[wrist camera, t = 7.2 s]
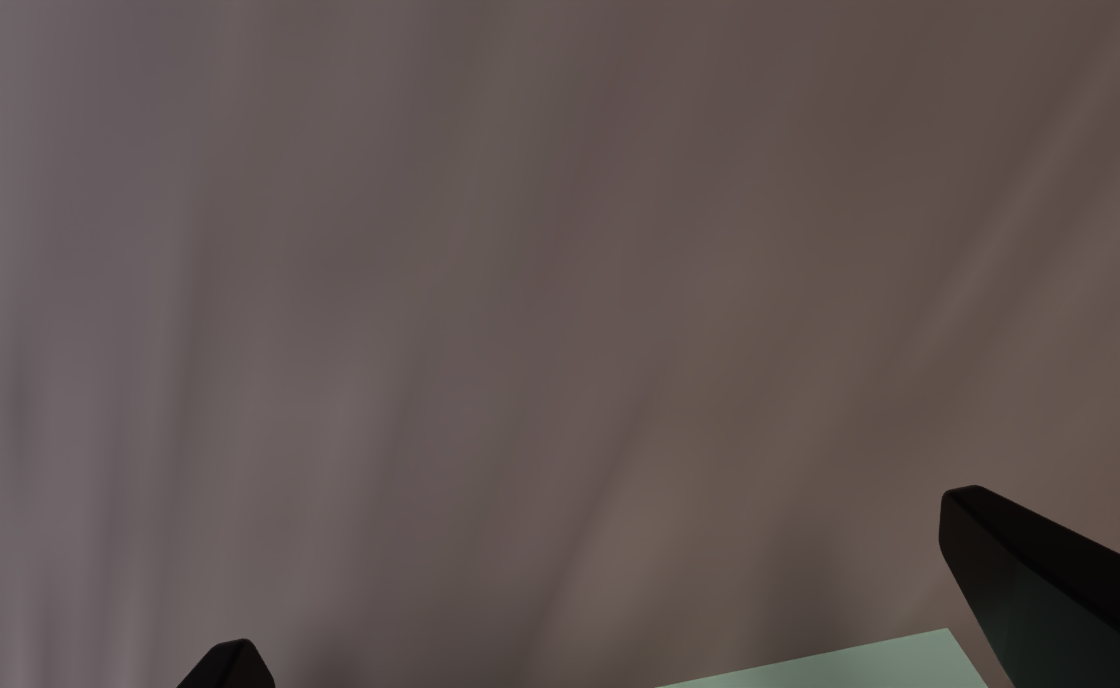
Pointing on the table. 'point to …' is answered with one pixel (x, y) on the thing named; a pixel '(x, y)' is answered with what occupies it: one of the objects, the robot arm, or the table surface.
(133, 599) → the table surface
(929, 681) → the bar
